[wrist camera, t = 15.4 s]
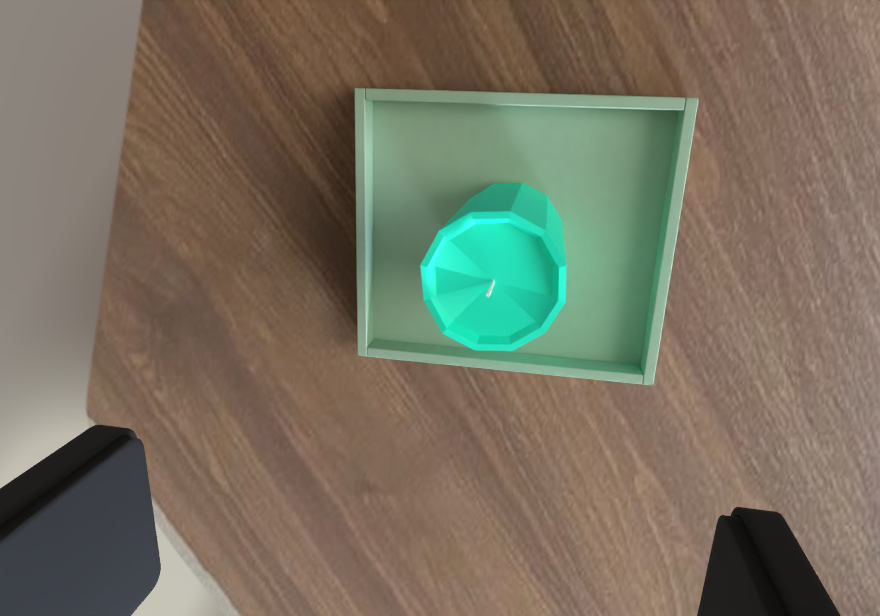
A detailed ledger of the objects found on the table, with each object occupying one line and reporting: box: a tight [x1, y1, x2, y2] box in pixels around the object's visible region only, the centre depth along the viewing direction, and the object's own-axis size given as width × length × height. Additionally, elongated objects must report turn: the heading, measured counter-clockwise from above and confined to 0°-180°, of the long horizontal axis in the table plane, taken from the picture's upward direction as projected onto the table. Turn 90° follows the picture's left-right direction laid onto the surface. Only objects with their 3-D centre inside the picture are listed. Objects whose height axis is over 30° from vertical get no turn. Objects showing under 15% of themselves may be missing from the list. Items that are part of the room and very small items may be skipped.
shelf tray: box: [354, 88, 699, 385], centre depth 33 cm, size 17×15×2 cm
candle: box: [420, 183, 566, 351], centre depth 28 cm, size 6×6×12 cm
